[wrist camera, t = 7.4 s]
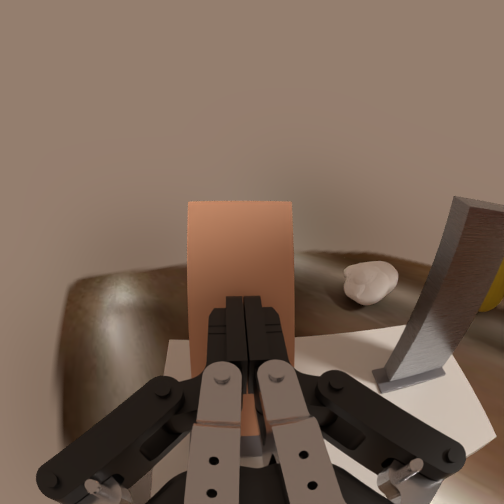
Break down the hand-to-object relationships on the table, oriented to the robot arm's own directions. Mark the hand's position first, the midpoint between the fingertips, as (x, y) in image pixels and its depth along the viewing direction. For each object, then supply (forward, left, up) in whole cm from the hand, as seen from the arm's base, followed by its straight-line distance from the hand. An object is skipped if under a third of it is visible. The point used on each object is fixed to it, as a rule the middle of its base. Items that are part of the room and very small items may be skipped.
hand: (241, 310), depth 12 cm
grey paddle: (-12, +1, -7) cm, 14 cm away
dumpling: (-13, -11, -9) cm, 20 cm away
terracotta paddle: (0, +4, -7) cm, 8 cm away
